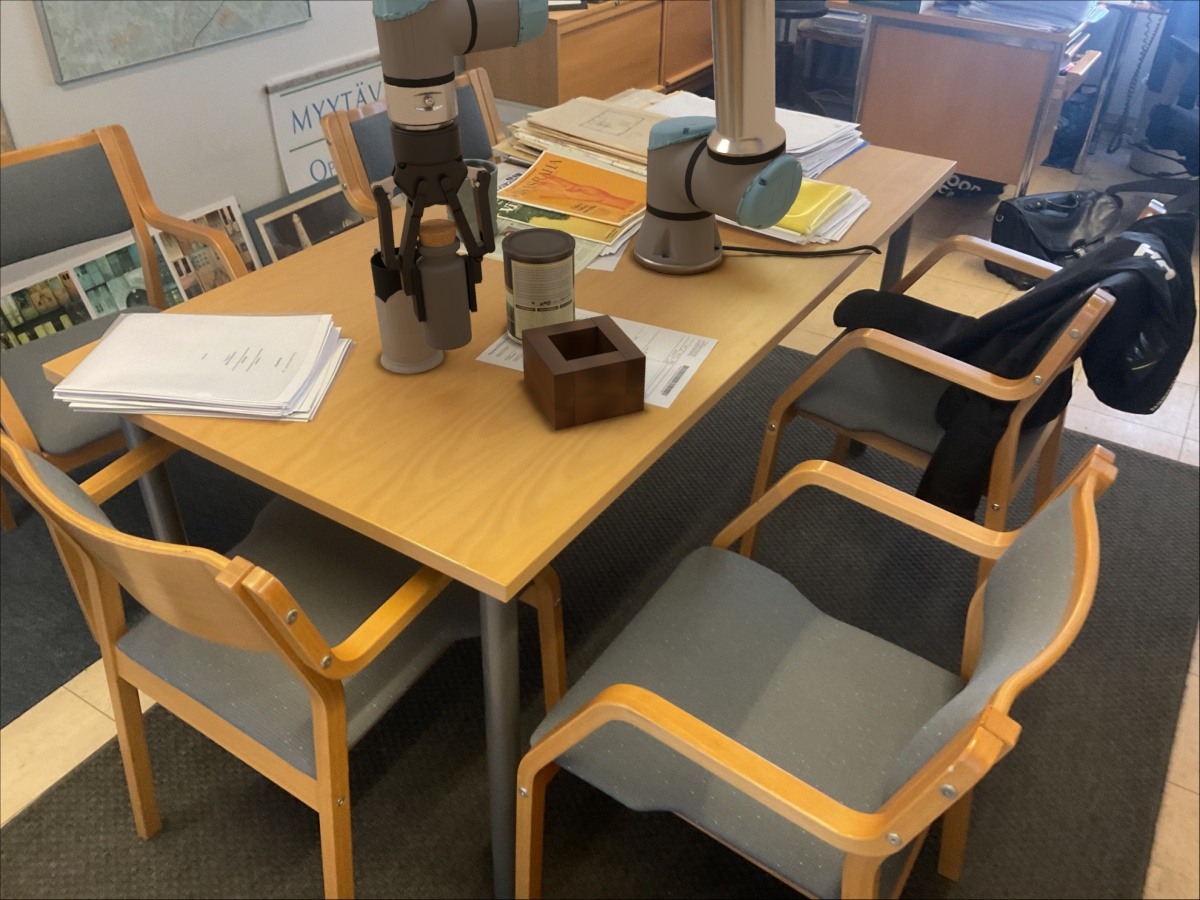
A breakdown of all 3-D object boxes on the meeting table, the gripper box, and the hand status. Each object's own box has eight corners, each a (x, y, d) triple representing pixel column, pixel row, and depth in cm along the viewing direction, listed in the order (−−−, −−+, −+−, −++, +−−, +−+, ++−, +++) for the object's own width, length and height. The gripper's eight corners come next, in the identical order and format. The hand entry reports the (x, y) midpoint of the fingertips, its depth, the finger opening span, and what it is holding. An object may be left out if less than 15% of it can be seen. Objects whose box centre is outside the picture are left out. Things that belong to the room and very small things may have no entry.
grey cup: (506, 224, 167) (502, 160, 160) (494, 245, 159) (490, 179, 152) (453, 221, 168) (447, 157, 161) (438, 242, 160) (432, 176, 153)
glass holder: (394, 379, 122) (379, 277, 113) (358, 337, 131) (341, 239, 123) (453, 363, 125) (443, 262, 117) (414, 322, 135) (402, 227, 126)
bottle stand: (607, 365, 125) (607, 314, 120) (643, 410, 116) (646, 356, 111) (524, 382, 121) (521, 330, 117) (555, 430, 112) (553, 374, 108)
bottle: (432, 354, 110) (417, 239, 101) (420, 333, 114) (405, 221, 106) (478, 345, 112) (467, 231, 103) (464, 324, 116) (453, 213, 108)
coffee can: (492, 330, 133) (486, 240, 125) (544, 309, 139) (541, 221, 131) (538, 355, 127) (535, 262, 119) (590, 331, 133) (590, 241, 125)
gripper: (342, 140, 92) (375, 340, 105) (517, 119, 98) (528, 311, 111) (330, 120, 97) (363, 312, 111) (497, 102, 103) (509, 286, 117)
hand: (445, 311), depth 111 cm, fingers closed on bottle, 6 cm apart
